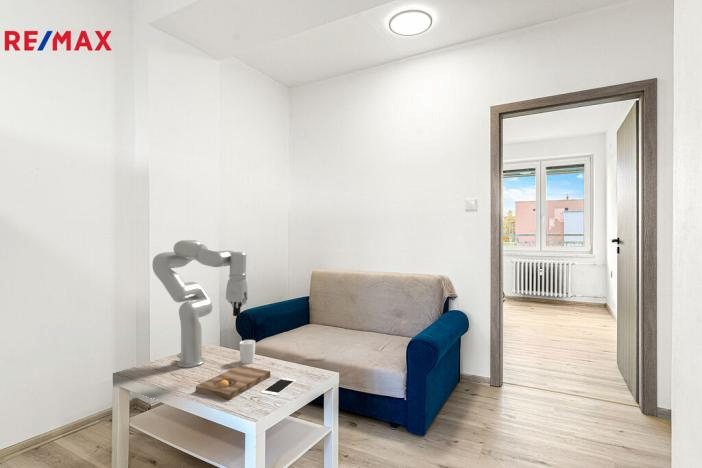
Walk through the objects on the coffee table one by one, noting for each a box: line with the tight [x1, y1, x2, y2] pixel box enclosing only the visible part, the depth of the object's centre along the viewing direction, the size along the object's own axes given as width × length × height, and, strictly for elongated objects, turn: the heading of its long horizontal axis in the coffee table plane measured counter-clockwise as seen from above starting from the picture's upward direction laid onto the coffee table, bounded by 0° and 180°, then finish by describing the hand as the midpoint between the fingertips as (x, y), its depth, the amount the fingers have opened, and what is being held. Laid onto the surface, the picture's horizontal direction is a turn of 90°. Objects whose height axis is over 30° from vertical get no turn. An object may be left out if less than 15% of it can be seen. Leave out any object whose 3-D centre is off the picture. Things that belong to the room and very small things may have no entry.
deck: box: [195, 364, 271, 401], centre depth 156 cm, size 26×18×2 cm
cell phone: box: [260, 377, 297, 397], centre depth 154 cm, size 8×16×1 cm, turn 159°
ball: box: [219, 380, 229, 386], centre depth 151 cm, size 4×4×4 cm
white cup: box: [239, 339, 256, 365], centre depth 184 cm, size 8×8×10 cm
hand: (236, 315), depth 173 cm, fingers closed
